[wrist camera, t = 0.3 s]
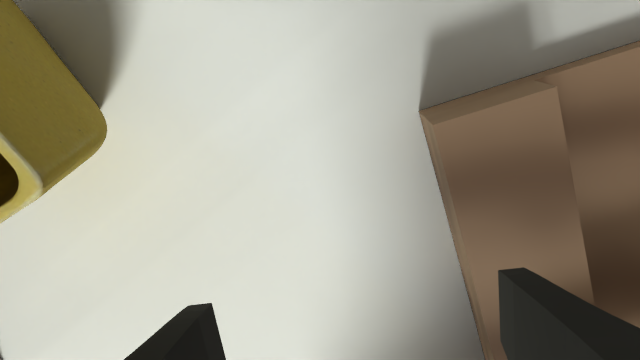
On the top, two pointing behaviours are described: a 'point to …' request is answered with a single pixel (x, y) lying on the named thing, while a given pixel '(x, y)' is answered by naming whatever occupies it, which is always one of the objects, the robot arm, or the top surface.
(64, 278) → the top surface
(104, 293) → the top surface
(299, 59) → the top surface
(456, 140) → the board
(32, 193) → the flower pot
